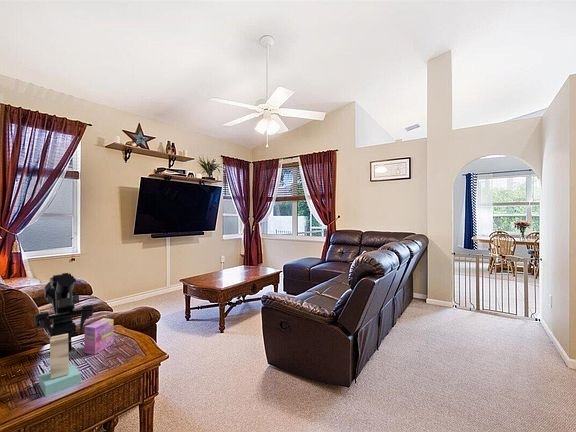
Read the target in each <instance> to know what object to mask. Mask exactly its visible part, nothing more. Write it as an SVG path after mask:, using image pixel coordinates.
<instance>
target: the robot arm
mask: <svg viewBox="0 0 576 432" xmlns="http://www.w3.org/2000/svg"><path fill="white" fill-rule="evenodd" d="M76 282H77V278H76V277H75V276H73V275H72V273H70V272H64V273H62V274H54V275H52V277H50V278H49V282H48V283H47V284H45V286H44V291H43V292H44V299H46V302H47V303H49V304H51V307H52V311H53V314H49V311H46V312H40V313H36V314H35V315H34V321H35V322H34V324H35V325H34V327H35V328H38V327H39V329H43V330H44V331H46V333H47V334H48V336H49V339H50V338H51V337H53V336H58V335H63V334H68V353H69V352H71V351H73V350H75V349H76V347H74V346H72V345H73V344H72V343H73V342H72V337H75V336H76V335H77V327H78V326H77V325H76V323H75V322H74V321H73V316H74V317H75V316H80V324H79V326H80V327H79V331H80V332H81V333H82V332H83V328H84V325H85V323H86V320H88V319H89V318H90V317H92V316H93V314H94V311H95V310H94V309H95V308H94V305H93V304H86V305H85V304H84V305H82V306H81V309H76V310H75V304H79V303H80V295H79V294H74V295H73V291H74V287H75V283H76ZM51 321H52V322H51Z"/></svg>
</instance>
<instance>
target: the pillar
mask: <svg viewBox="0 0 576 432" xmlns="http://www.w3.org/2000/svg"><path fill="white" fill-rule="evenodd" d="M49 354H50V355H49V356H50V361H49V362H50V364H49V367H50V371H51V379H53V378H56V377H60V376H64V375H67V374H69V365H70V364H69V359H70V356H69V352H68V334H63V335H58V336H53V337H51V338H50V337H49Z"/></svg>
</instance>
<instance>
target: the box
mask: <svg viewBox="0 0 576 432" xmlns="http://www.w3.org/2000/svg"><path fill="white" fill-rule="evenodd" d="M112 345H114V319H113V318H106V317H103V318H101V319H98V320H97V321H94V322H92V323H90V324H87V325H85V326H84V354H88V355H89V354H90V355H96V354H97V353H99V352H101V351H103V350H105V349H107V348H108V347H111V346H112Z"/></svg>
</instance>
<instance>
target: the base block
mask: <svg viewBox="0 0 576 432" xmlns="http://www.w3.org/2000/svg"><path fill="white" fill-rule="evenodd" d="M38 380H39V381H38V384H39V387H40V389H41V390H42V391H41V392H42V393H43V395H44V396H45V397H49V396H51V395H54V394H57V393H59V392H61V391H64V390H68V389H69V387H70V388H72V387H75V386H77V385H80V384H82V373H81V372H80V370H79V369H78V367H76V366H75V365H74V363H71V364H69V374H67V375H64V376H60V377H56V378H53V379H51V370H50V371H47V372H44V373H42V374H39V375H38ZM79 383H80V384H79ZM74 385H75V386H74Z"/></svg>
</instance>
